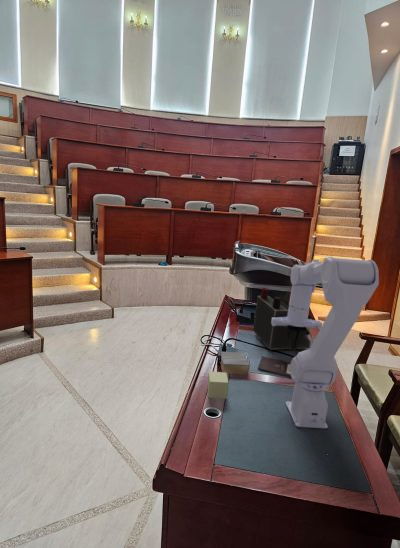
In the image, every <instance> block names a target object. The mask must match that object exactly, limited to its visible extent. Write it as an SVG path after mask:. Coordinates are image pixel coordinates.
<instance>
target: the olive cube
mask: <svg viewBox="0 0 400 548" xmlns="http://www.w3.org/2000/svg"><path fill="white" fill-rule="evenodd" d="M206 388H207V398H209V399H224V400H225V399H227V397H228V389H229V378H228V373H223V372H221V371H208V376H207V387H206Z"/></svg>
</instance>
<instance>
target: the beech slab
mask: <svg viewBox="0 0 400 548" xmlns="http://www.w3.org/2000/svg"><path fill="white" fill-rule="evenodd" d="M220 353H221V362H220V361H219V364H221V365H220V368H221V371H222V372H223V373H227V374H230V375H231V374H233V375H236V374H237V375H248V374H249V369H250V364H249V361H248V358H247V356H246V354H245V352H236V351H235V352H234V351H233V352H232V351H220ZM220 353H219V354H220Z"/></svg>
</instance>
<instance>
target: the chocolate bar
mask: <svg viewBox="0 0 400 548" xmlns="http://www.w3.org/2000/svg"><path fill="white" fill-rule="evenodd" d="M290 365H291V361H290V362H289V361H286V360H281V359H276V358H272V357H267V356H261V357H260V361H259V364H258V366H257V370H258V371H263V372H265V373H270V374H274V375H278V376H282V377H287V378H291V379H292V377H291V373H290Z"/></svg>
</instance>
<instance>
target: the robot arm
mask: <svg viewBox="0 0 400 548" xmlns="http://www.w3.org/2000/svg"><path fill="white" fill-rule="evenodd" d="M379 273H380V272H379V268H378V265H377V262H375V261H374V260H372V259H366V260H365V259H354V258H353V259H351V258H339V257H333V256H328V257H325V258H324V259H323V262H322V261H320V260H319V259H312V260H311V262H305V264H304V265H299V264H293V266H292V267H291V271H290V283H291V284H292V285H291V291H290V297H289V304H288V306H289V309H288V315H287V317H277V318H274V317H272V320H271V324H272V326H276V325H279V326H285V327H286V330H287V334H288V339H289V348H290V349H289V350H290V351H296V350H297V349H298V348H297V345H298V343H299V342H300V340H301V339H302V337H303V336H304V335H305V334H306V332H307V330H306V328H307V329H308V328H310V329H311V328H313V329H317V330H319V331H318V333H317V335H316V337H315V339H314V340H313V342H312V344H311V345H310V348H307V349H304V350H301V351H299V352H298V353H297V355H295V356H294V357H293V358H292V359H291V361H290V363H291V365H290V373H291V377H292V378H291V380H292V381H293V382H294V387H293V393H292V398H291V401H285V405H286V407H287V410H288V411H289V414H290V416H291V418H292V421H293V422H294V425H295V427H298V428H310V429H311V428H314V429H328V427H329V426H328V424H327V423H326V420H327V419H326V418H327V414H328V409H329V404H328V401H327V399H326V395H325V391H326V390H327V389H329V386H331V385H332V384H334V382H335V380H336V377H337V372H338V371H339V367H338V362H337V359H336V357H335V355H336V354H337V352H338V351H339V350H340V348H341V346H342V345H343V343H344V341H345V340H346V338H347V336H348V335H349V333H350V332H351V330H352V328H353V327H354V325H355V323H356V322H357V320H358V318H359V317H360V315H361V313H362V310H363V308H364V305H367V304H368V302H369V301H370V299H371V298H372V296H373V294H374V293H375V291H376V289H377V288H378V286H379V284H380V283H379V282H380V280H379V279H380V278H379V277H380V276H379ZM318 284H321V286H322V293H323V295H324V297H323V298H324V300H325V301H326V302H327V303H328V304H330V305H331V308H330V310H329V312H328V314H327V315H326V318H325V320H324V321H323V323H322V321H320V320H316V319H311V318H309V312H310V306H311V301H312V295H313V294H314V293H315V289H316V286H317V285H318Z"/></svg>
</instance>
